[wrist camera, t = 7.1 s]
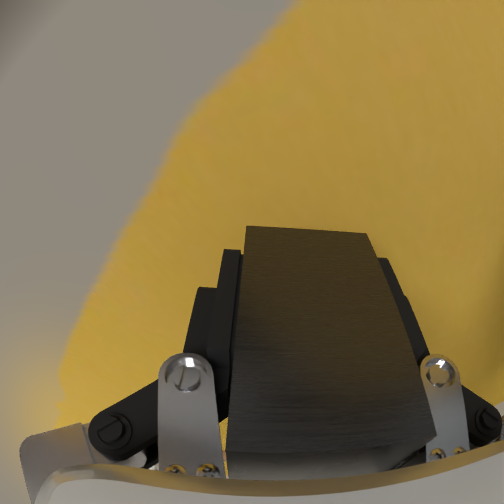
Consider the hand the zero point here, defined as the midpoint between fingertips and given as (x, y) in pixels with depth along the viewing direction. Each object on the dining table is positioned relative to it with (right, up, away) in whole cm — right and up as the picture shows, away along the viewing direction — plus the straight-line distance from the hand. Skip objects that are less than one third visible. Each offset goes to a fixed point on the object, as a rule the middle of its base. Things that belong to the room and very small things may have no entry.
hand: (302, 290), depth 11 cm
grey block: (0, -3, +3) cm, 4 cm away
